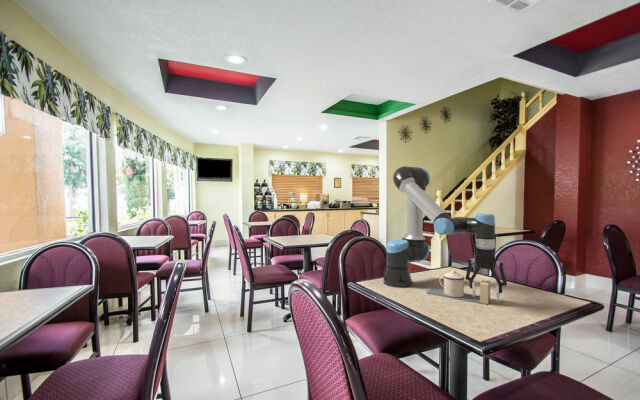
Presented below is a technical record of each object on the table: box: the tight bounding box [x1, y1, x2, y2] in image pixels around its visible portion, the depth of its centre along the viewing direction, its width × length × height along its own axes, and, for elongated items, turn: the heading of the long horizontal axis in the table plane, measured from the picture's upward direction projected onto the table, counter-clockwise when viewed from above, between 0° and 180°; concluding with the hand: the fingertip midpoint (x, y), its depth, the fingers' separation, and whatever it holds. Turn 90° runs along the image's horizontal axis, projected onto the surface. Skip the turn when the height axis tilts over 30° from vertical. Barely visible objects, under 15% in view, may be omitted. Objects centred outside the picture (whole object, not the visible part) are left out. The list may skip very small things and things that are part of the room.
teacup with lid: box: [439, 269, 465, 297], centre depth 136 cm, size 12×9×12 cm
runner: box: [425, 279, 491, 306], centre depth 134 cm, size 26×10×8 cm, turn 52°
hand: (485, 298), depth 127 cm, fingers open, 9 cm apart
